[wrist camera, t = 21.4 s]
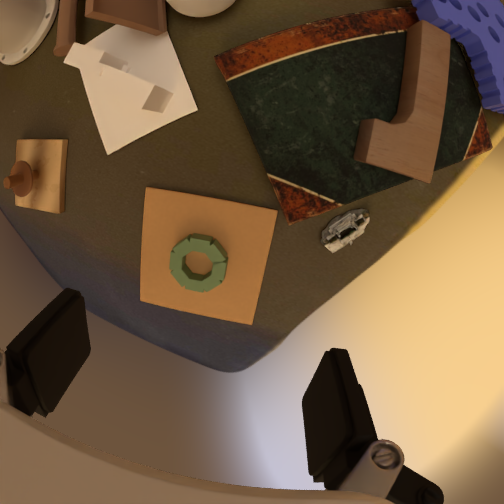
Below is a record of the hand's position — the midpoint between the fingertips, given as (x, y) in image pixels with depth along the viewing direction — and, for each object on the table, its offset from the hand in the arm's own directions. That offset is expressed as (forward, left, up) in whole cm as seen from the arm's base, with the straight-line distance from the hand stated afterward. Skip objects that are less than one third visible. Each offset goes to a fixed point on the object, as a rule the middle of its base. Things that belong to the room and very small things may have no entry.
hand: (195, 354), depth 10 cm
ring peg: (-27, +1, -21) cm, 34 cm away
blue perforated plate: (+23, +30, -15) cm, 41 cm away
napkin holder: (-15, +13, -21) cm, 29 cm away
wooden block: (+12, +8, -16) cm, 21 cm away
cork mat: (-4, -6, -21) cm, 22 cm away
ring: (-4, -6, -21) cm, 22 cm away
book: (+10, +15, -21) cm, 28 cm away
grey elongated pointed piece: (+10, +1, -20) cm, 23 cm away
